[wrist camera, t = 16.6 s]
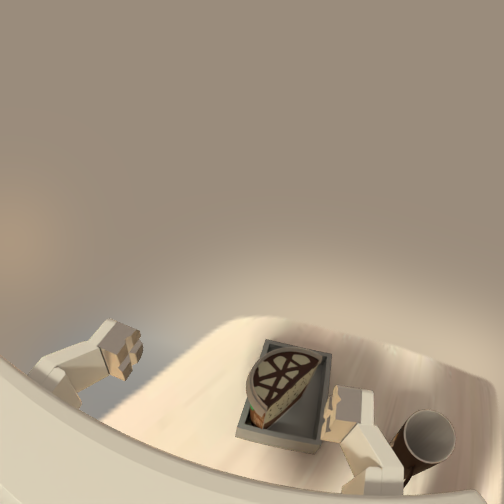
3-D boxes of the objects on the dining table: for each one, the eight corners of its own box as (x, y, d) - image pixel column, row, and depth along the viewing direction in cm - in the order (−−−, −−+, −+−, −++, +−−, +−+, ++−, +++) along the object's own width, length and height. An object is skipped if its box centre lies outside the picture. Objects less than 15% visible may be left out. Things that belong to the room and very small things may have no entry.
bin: (326, 366, 51) (331, 354, 49) (314, 454, 36) (321, 445, 34) (262, 352, 52) (265, 339, 51) (235, 436, 38) (236, 427, 36)
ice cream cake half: (278, 371, 48) (290, 330, 43) (307, 393, 44) (324, 354, 39) (222, 414, 40) (226, 377, 34) (253, 441, 36) (263, 409, 31)
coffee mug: (399, 432, 38) (430, 399, 33) (427, 467, 32) (465, 439, 27) (345, 467, 34) (374, 440, 29) (375, 508, 27) (413, 489, 22)
